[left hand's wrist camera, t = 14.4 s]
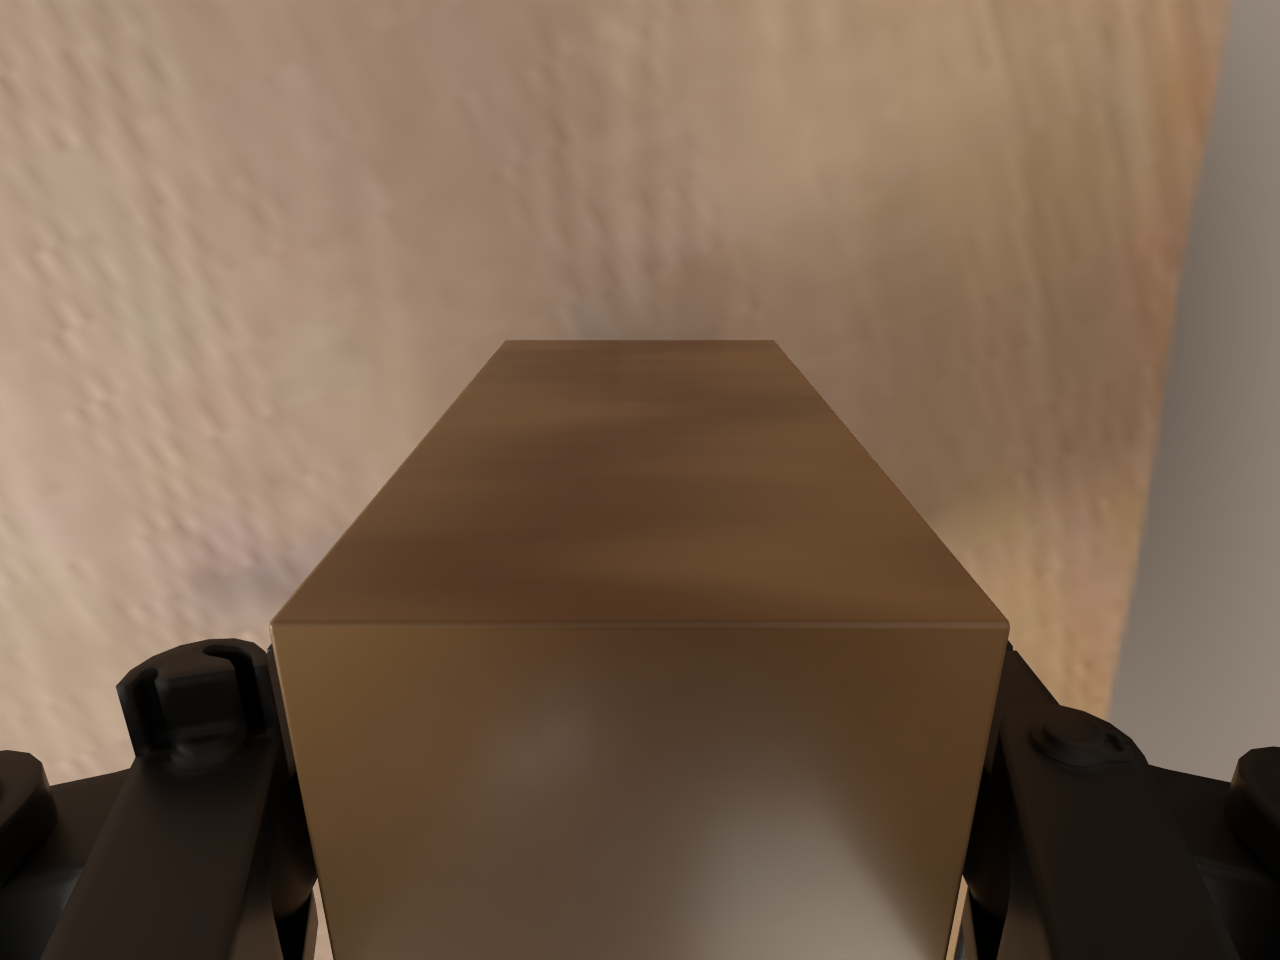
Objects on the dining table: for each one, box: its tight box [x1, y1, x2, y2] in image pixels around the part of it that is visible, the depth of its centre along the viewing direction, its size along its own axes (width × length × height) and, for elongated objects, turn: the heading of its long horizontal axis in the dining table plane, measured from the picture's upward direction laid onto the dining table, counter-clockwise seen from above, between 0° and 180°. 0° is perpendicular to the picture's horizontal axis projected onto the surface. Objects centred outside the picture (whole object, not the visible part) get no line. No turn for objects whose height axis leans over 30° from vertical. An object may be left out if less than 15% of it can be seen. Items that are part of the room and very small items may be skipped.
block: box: [269, 340, 1010, 960], centre depth 12 cm, size 5×6×10 cm
